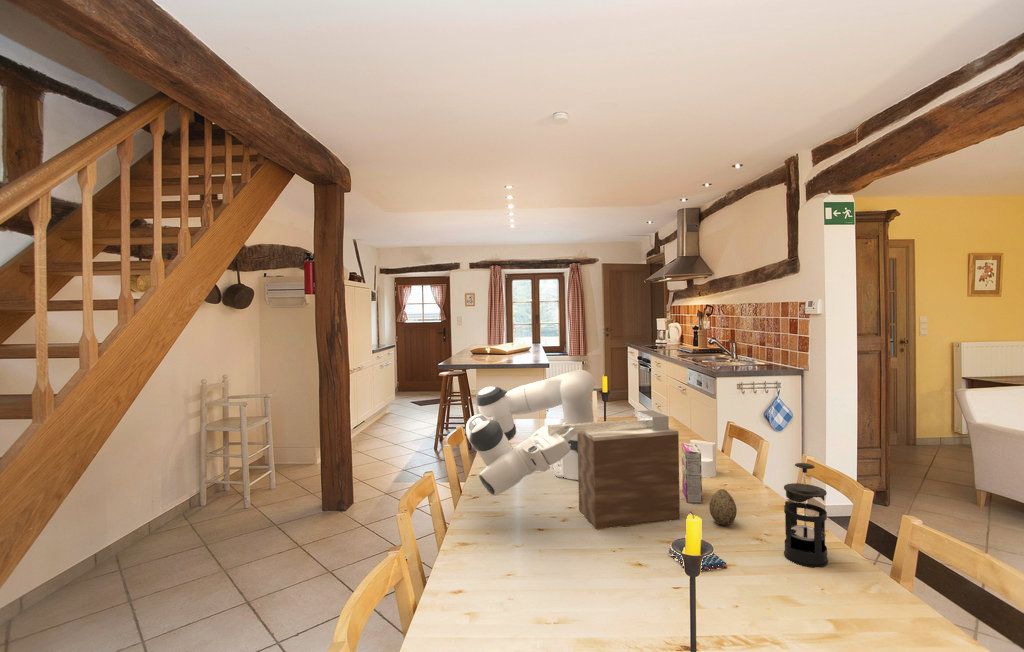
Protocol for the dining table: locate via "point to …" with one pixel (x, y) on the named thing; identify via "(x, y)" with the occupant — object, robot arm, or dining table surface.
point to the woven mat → (705, 561)
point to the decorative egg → (723, 507)
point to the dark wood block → (628, 477)
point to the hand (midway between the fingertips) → (571, 427)
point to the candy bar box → (691, 473)
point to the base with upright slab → (707, 457)
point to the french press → (802, 534)
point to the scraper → (617, 424)
